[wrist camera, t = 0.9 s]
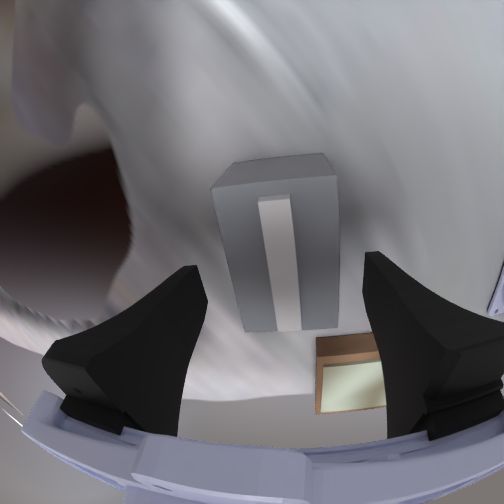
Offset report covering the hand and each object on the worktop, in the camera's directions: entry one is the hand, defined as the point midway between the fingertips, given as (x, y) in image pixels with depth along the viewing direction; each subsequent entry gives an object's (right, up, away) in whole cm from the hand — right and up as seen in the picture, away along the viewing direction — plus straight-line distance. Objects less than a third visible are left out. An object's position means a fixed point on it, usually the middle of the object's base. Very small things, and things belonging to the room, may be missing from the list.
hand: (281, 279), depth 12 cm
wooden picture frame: (+11, -10, +11) cm, 18 cm away
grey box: (+1, +3, +5) cm, 6 cm away
